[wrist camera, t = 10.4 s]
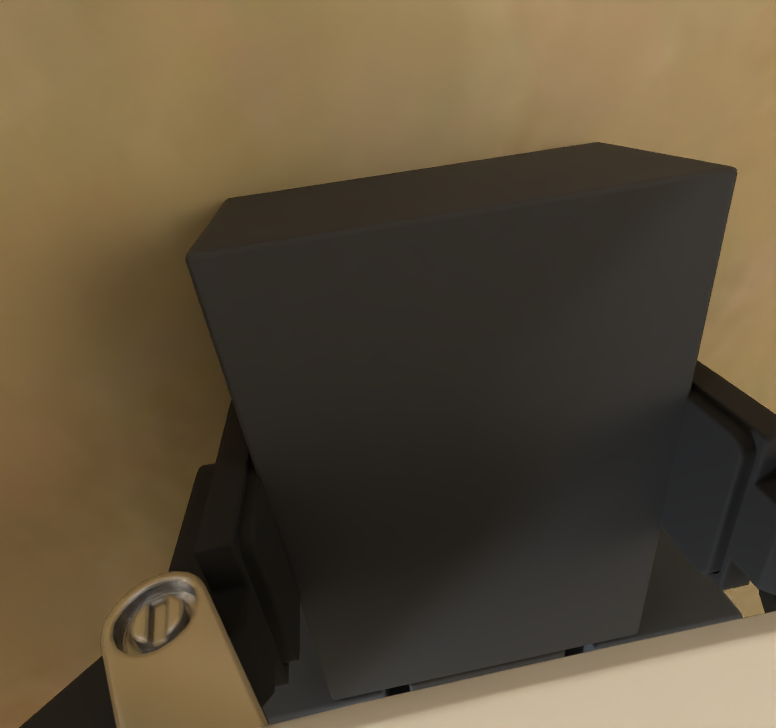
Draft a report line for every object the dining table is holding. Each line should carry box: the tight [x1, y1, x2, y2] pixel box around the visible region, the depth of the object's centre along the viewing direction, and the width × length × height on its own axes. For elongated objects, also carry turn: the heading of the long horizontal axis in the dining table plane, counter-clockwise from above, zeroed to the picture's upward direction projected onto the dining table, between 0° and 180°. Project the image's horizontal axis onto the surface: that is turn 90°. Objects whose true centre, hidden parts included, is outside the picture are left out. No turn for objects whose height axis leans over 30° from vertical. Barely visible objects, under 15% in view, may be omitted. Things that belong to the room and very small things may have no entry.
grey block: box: [262, 528, 743, 725], centre depth 15 cm, size 12×12×4 cm
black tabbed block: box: [185, 142, 737, 700], centre depth 11 cm, size 13×7×4 cm, turn 7°
